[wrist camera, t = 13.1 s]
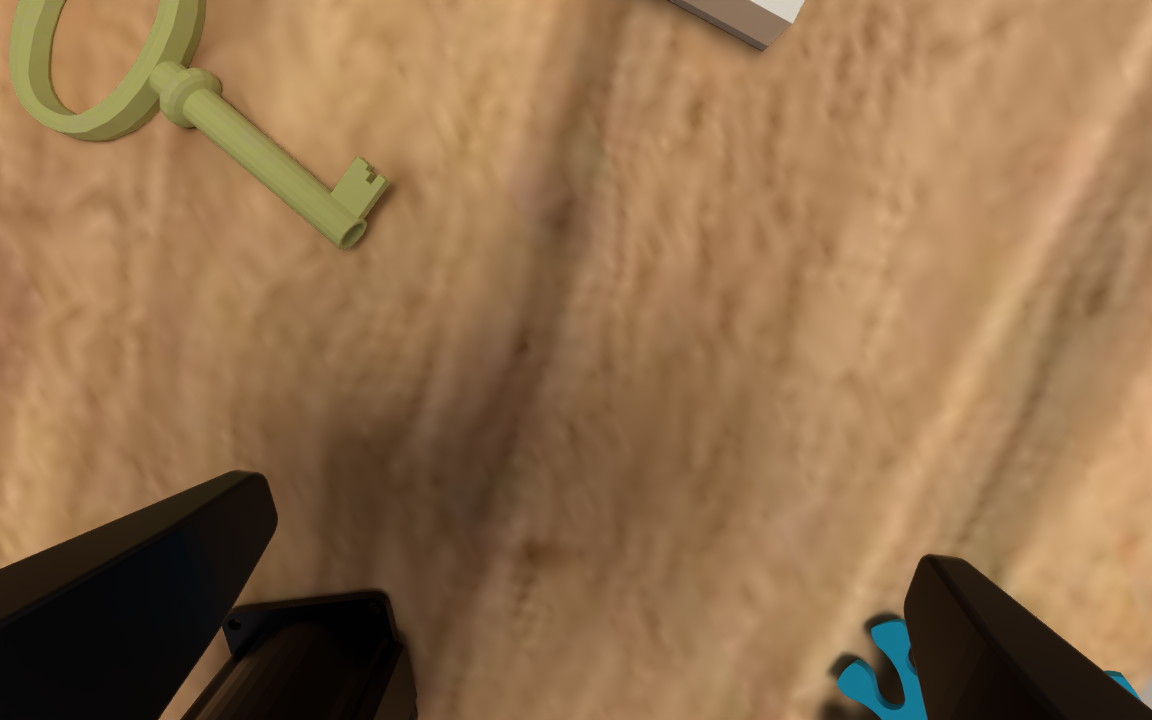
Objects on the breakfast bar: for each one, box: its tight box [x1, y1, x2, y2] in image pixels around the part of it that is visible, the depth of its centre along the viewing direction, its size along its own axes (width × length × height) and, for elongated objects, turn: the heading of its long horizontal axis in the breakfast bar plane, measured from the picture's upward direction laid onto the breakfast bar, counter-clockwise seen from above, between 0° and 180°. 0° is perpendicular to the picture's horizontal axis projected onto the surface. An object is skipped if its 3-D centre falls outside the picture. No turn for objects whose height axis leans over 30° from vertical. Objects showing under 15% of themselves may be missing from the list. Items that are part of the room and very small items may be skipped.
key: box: [9, 0, 391, 250], centre depth 17 cm, size 7×12×2 cm, turn 68°
